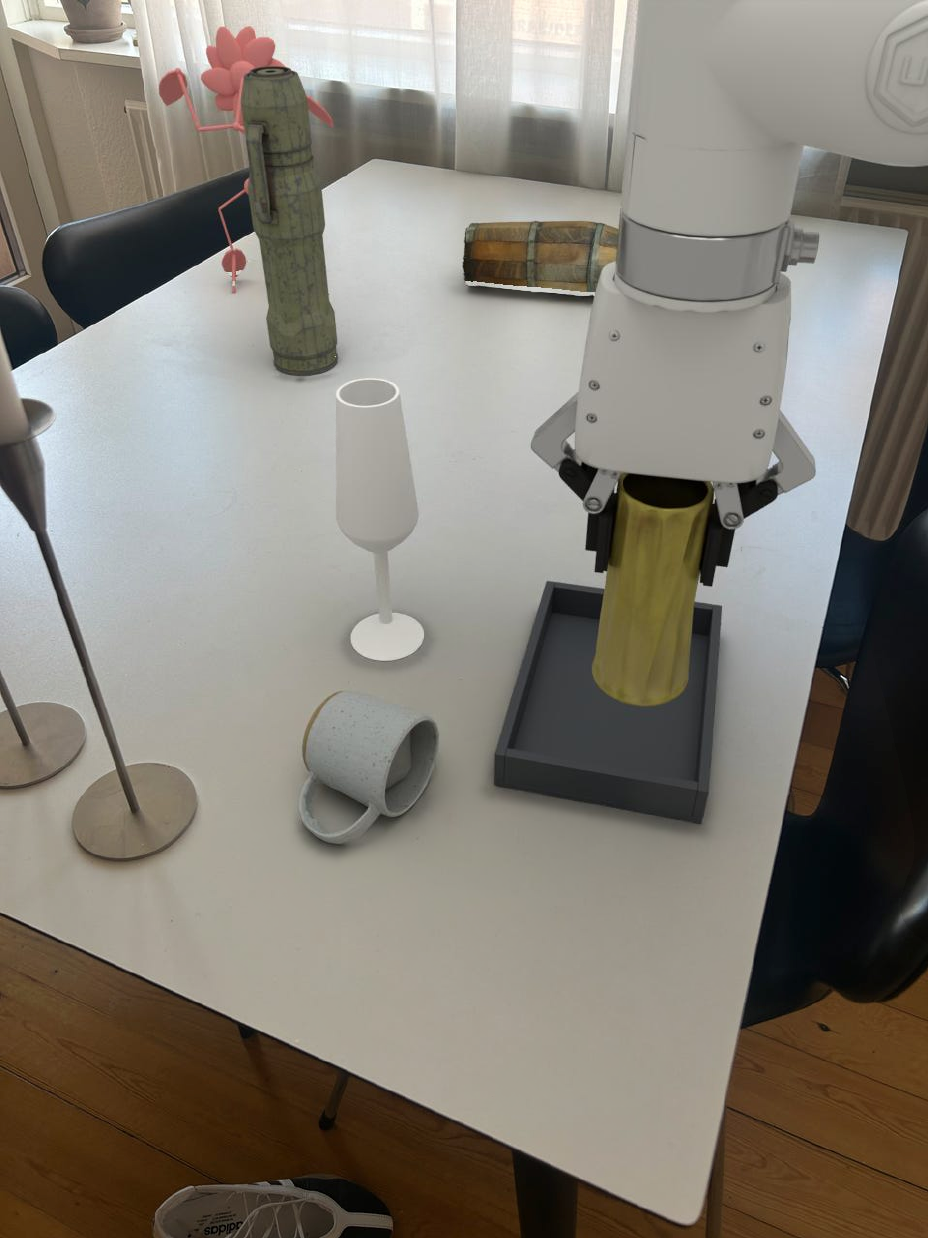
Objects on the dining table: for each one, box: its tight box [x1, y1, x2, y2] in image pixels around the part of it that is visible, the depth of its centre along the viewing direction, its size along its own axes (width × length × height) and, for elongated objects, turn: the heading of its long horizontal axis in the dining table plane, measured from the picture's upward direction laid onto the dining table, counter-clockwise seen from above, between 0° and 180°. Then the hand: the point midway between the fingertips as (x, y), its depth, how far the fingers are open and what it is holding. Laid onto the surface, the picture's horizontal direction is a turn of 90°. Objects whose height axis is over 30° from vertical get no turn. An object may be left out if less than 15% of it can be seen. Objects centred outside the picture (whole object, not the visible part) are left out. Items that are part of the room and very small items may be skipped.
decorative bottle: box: [462, 220, 619, 292], centre depth 144 cm, size 11×11×45 cm
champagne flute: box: [335, 377, 425, 662], centre depth 79 cm, size 7×7×24 cm
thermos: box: [241, 66, 339, 377], centre depth 120 cm, size 9×12×35 cm
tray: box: [493, 580, 723, 825], centre depth 79 cm, size 16×22×4 cm
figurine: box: [158, 25, 335, 293], centre depth 144 cm, size 15×26×35 cm, turn 80°
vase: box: [592, 473, 715, 706], centre depth 57 cm, size 6×6×14 cm
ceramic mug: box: [298, 690, 440, 845], centre depth 71 cm, size 11×8×8 cm
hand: (654, 563), depth 56 cm, fingers closed on vase, 5 cm apart
